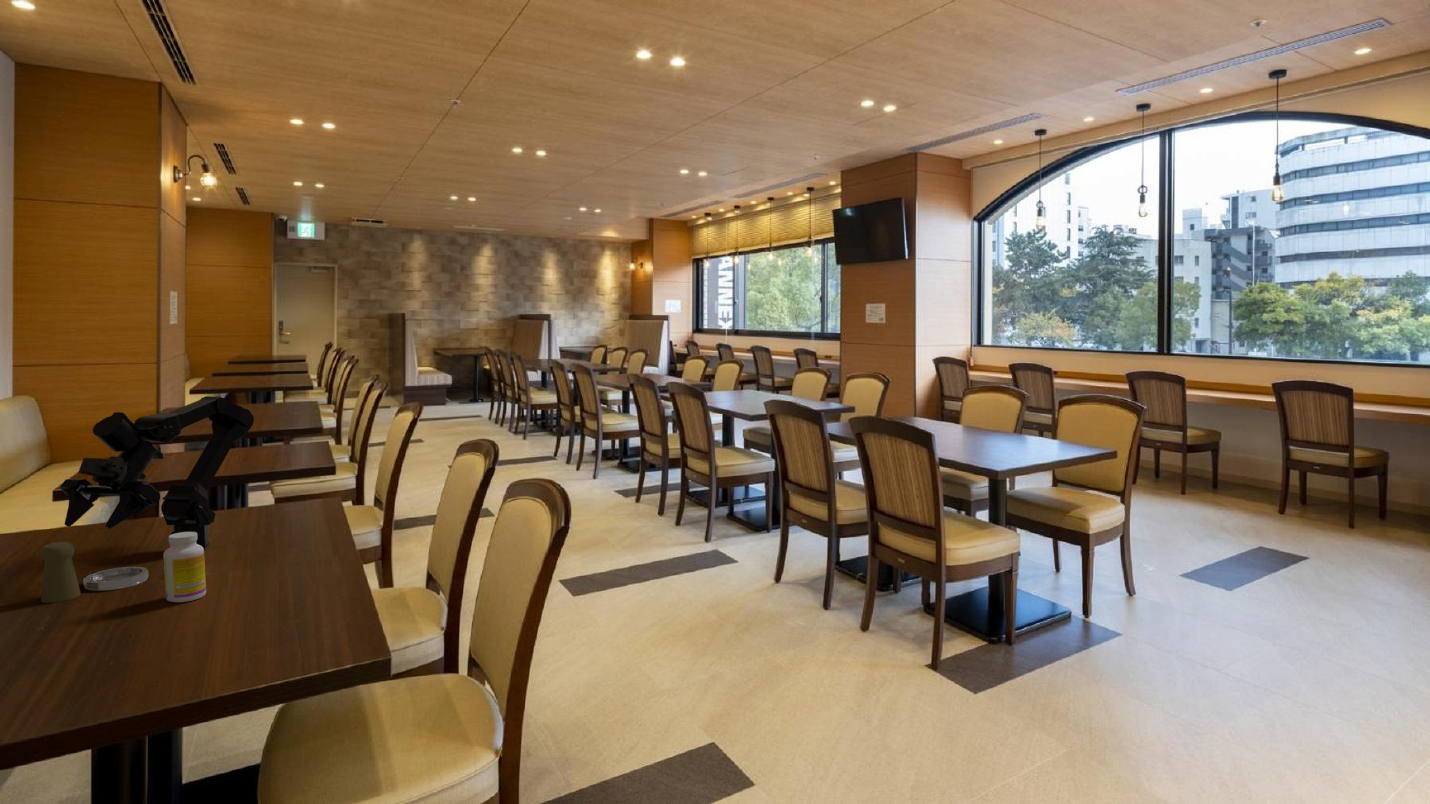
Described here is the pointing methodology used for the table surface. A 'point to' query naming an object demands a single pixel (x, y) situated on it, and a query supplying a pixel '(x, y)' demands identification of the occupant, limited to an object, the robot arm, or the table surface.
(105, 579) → the ring seat
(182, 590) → the supplement bottle
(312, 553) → the table surface
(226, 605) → the table surface
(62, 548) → the cork
